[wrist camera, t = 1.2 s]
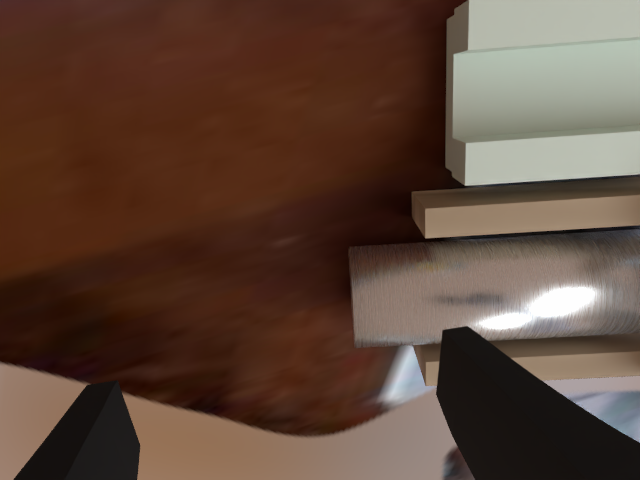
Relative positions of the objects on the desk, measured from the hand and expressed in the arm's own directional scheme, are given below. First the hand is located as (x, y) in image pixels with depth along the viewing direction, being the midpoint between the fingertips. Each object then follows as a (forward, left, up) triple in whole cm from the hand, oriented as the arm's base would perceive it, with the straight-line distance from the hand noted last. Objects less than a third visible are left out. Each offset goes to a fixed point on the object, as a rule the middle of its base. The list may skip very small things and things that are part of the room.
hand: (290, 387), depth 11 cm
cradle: (+6, -11, -12) cm, 17 cm away
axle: (-2, -9, -12) cm, 15 cm away
